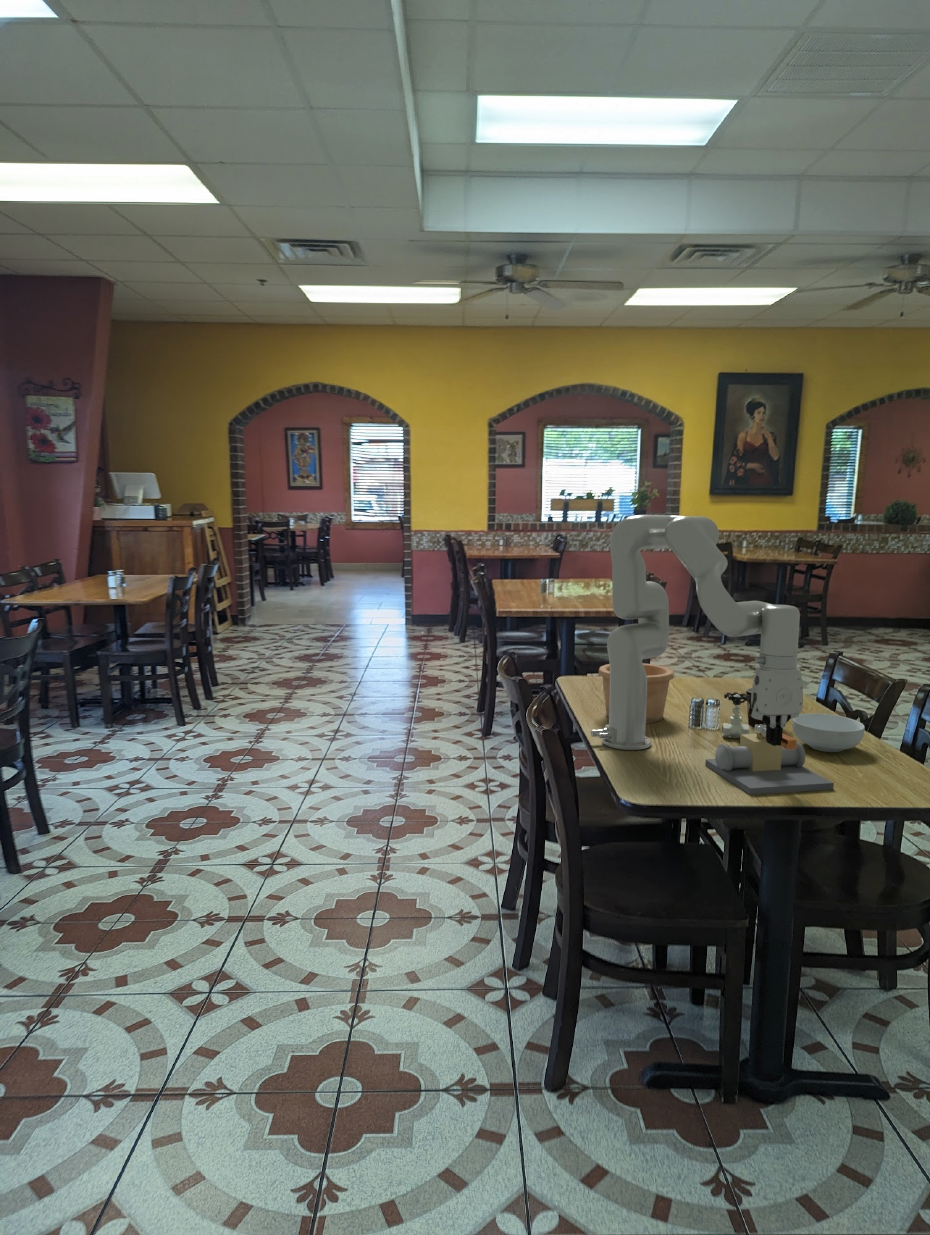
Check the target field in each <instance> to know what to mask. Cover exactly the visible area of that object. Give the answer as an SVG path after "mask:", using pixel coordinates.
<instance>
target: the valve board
mask: <svg viewBox="0 0 930 1235" xmlns="http://www.w3.org/2000/svg"><path fill="white" fill-rule="evenodd" d="M739 739H740V741H739V743H740V744H739V745H737V746H730V745H728V744H727V743H721V744H720V743H719V744H718V746H717V747H716V750H715V753H714V754H715V756H714V758H708V759H707V758H706V759H705V762H704V765H705V766H706V767H707V768H709V769H710V770H712V771H713V772H714V773H717V775H719V776H721V777H723V778H724V779H725V780H727V781H728V782H729V783H731V784H733V785H734V786H736V787H737V788H739V789H740V790H742V791H743V792H745V793H746V794H748V795H749V796H753V795H754V796H755V795H768V794H772V795H773V794H781V793H782V794H783V793H785V794H786V793H797V792H799V793H800V792H813V791H830V790H834V787H835V782H833V781H831V780H830V779H828V778H826V777H823V776H822V775H820V774H818V773H817V772H814V771H812V770H810V769H809V768H807V767H805V766H804V764H805V762H806V750H805V748H804V746H803V744H802V743H801V741H800V740H797V749H786V748H784V747H782V746H778V745H776V746H773V745H771V744H769V743H767V741H766V737H765V736H763V735H761V734H756V733H749V734H741V737H740V738H739Z"/></svg>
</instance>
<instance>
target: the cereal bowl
mask: <svg viewBox="0 0 930 1235" xmlns="http://www.w3.org/2000/svg"><path fill="white" fill-rule="evenodd" d="M791 720H792V721H791V722H792V724H791V725H792V731H793V734H794V736H796V738H797V739H798V741H799V742H802V743H805V744H806V745H808V746H809V747H810V748H812V749H813V750H817V751H820V752H826V753H839V752H842V751H844V750H849V749H852V748H855V747H857V746H858V745H859V744H860V743H861V742H862V740H863V738H864V736H865V730H866V729H865V728H866V727H865V725H864V723H862V722H860V721H858V720H856V719H853V718H850V717H846V716H842V715H837V714H836V715H835V714H829V713H821V712H820V713H816V712H815V713H814V712H813V713H811V712H810V713H809V712H807V713H799V716H798V717H796V718H792V719H791Z"/></svg>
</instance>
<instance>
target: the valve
mask: <svg viewBox="0 0 930 1235" xmlns="http://www.w3.org/2000/svg"><path fill="white" fill-rule="evenodd" d="M723 699H727V700H728V701H731V702H732V705H734V707H732V713H733V714H732V716H730V717H729V721H730V723H729V722H728V723H726V722H723V723H722V724H721V736H722V737H724V738H729V737H730V738H731V739H740V737H741V734H750V725H749V724H748V723H747V724H745V723H742V721H743V718H742V717H741V716H740V714H741V708H740V707H739V706H740V705H741V704H744V703H745V702H747V701H748V699H750V695H746V692H745V693H744V692H743V693H738V692H736V691H735V692H733V693H731V692H726V693H724V694H723Z"/></svg>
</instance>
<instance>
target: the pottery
mask: <svg viewBox="0 0 930 1235" xmlns="http://www.w3.org/2000/svg"><path fill="white" fill-rule="evenodd" d="M642 663H643V666H644V668H645V671H646V674H647V703H646V724H654V723H658V722H660V721H662V720H663V719H664V713H665V707H666V701H667V698H668V697H667V696H668V691H669V686H670V680H673V679H674V677H675V675H674V674H675V670H673V669H671V668H669V667H667V666H663V665H659V664H652V663H644V662H642ZM598 675H599V676H600V677H601V678H602V685H603V695H604V703H605V711H606V712H605V715H606V716H607V717H608V718H609V701H610V663H608V664H604V665H601V666H599V669H598Z"/></svg>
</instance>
